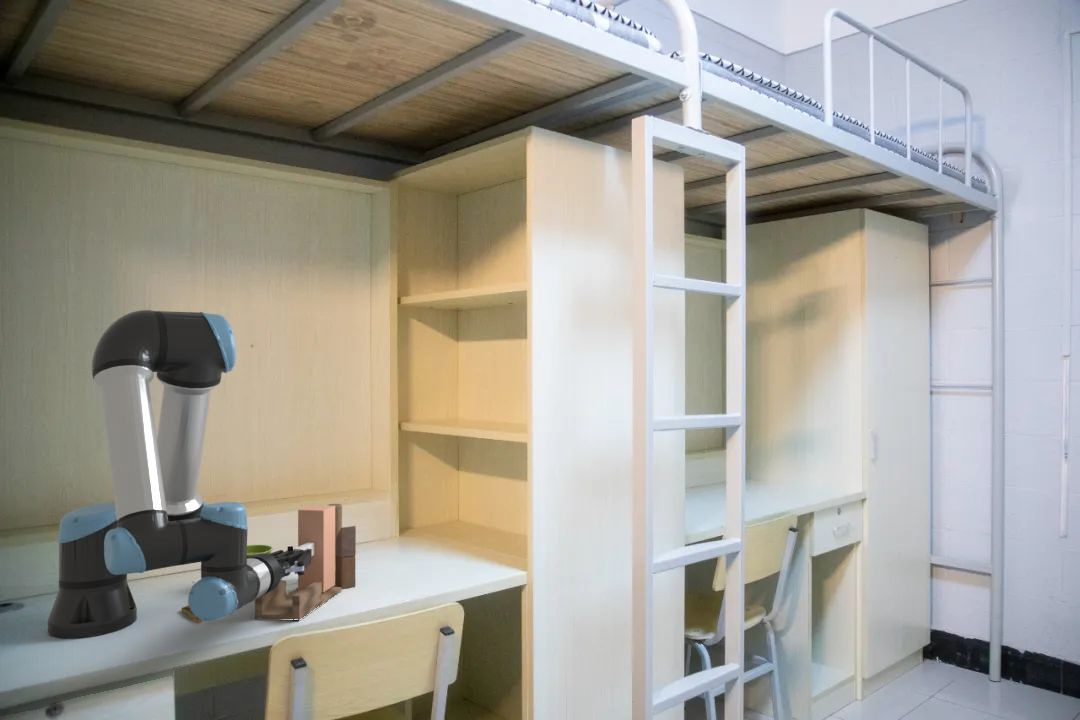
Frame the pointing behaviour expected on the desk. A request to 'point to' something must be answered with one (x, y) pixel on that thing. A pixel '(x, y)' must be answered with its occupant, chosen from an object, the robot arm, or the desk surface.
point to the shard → (190, 613)
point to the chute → (292, 601)
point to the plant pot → (258, 550)
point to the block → (318, 544)
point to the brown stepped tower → (344, 551)
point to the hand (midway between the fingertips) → (311, 548)
